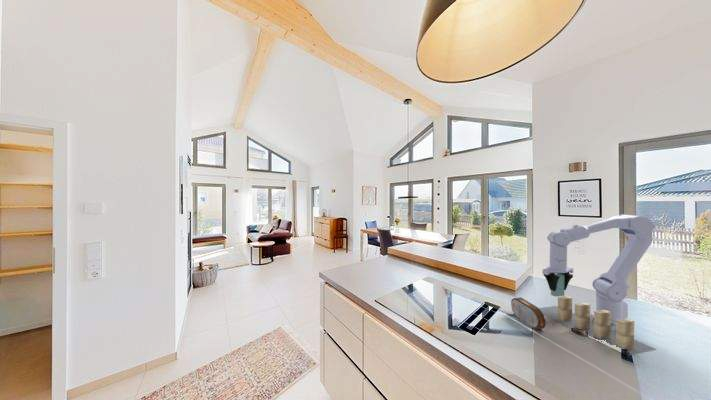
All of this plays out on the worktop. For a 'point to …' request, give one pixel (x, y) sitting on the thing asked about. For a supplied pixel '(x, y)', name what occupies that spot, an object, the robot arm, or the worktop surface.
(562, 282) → the domino
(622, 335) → the domino
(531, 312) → the tin
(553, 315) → the felt mat
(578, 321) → the domino
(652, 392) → the worktop surface
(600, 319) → the domino
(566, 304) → the domino
